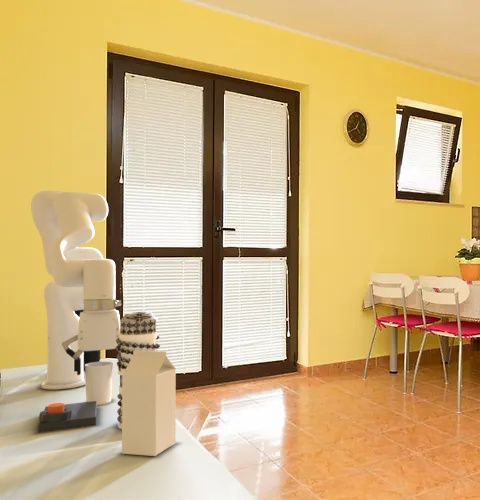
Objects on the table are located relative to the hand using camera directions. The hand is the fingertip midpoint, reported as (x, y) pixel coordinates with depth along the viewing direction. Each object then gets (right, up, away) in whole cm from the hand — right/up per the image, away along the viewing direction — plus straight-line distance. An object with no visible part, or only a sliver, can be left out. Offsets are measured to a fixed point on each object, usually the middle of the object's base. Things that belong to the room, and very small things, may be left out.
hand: (99, 372), depth 133 cm
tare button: (0, -4, -20) cm, 20 cm away
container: (-27, -9, +44) cm, 53 cm away
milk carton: (+26, -7, -34) cm, 43 cm away
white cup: (0, -8, 0) cm, 8 cm away
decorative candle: (+17, -8, -18) cm, 26 cm away
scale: (0, -8, -15) cm, 16 cm away
